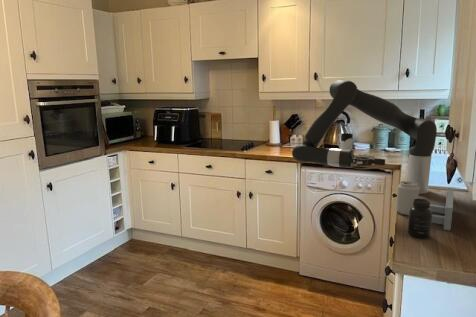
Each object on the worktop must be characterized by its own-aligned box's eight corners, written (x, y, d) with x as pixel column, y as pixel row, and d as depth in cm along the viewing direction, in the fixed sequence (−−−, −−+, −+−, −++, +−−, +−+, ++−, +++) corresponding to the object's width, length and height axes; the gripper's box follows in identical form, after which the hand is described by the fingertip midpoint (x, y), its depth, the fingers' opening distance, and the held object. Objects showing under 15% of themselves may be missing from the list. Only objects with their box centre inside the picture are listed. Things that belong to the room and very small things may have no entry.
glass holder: (345, 157, 249) (346, 135, 246) (331, 153, 262) (332, 132, 259) (355, 156, 253) (356, 134, 250) (341, 152, 265) (342, 132, 262)
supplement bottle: (405, 230, 126) (408, 196, 124) (427, 232, 124) (431, 198, 122) (408, 238, 120) (412, 202, 117) (432, 240, 118) (435, 204, 115)
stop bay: (424, 205, 151) (426, 187, 149) (450, 209, 146) (453, 190, 144) (419, 225, 130) (421, 203, 129) (450, 230, 126) (452, 208, 124)
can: (410, 209, 147) (413, 180, 144) (420, 215, 140) (423, 185, 137) (392, 209, 147) (394, 180, 144) (401, 216, 139) (403, 185, 137)
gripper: (336, 151, 146) (383, 155, 137) (344, 146, 157) (388, 150, 149) (335, 169, 147) (381, 175, 139) (343, 163, 158) (386, 168, 150)
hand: (384, 162), depth 144 cm, fingers closed
